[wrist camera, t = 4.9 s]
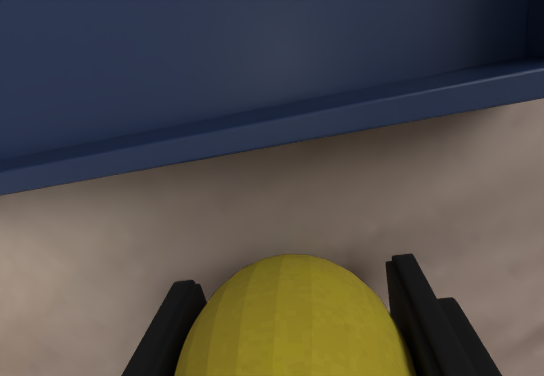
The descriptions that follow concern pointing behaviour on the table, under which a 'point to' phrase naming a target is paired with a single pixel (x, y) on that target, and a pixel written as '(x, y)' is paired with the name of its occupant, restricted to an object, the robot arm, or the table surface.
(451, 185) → the table surface
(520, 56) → the tray
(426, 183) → the table surface
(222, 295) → the lemon
